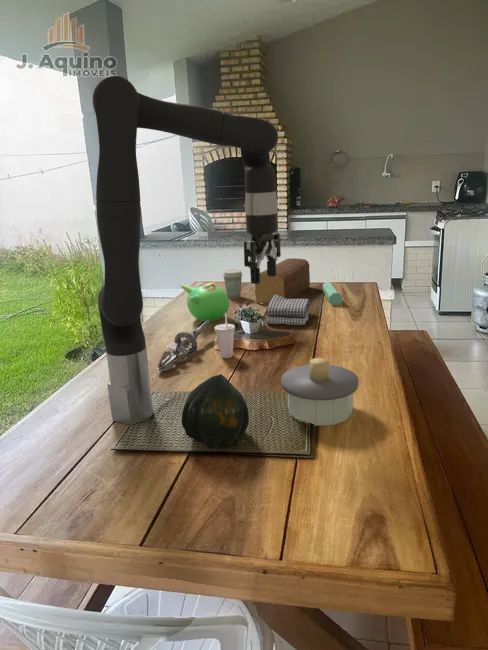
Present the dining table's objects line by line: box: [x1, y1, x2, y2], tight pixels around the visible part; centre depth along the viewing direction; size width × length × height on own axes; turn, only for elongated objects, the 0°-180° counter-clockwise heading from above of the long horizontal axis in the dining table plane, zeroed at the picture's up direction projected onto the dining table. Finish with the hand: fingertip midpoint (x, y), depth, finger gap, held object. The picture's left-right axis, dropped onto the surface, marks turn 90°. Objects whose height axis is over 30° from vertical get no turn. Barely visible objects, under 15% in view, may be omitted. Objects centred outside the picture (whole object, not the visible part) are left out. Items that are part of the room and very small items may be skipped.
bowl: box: [287, 393, 354, 427], centre depth 123 cm, size 15×15×7 cm
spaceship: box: [156, 320, 211, 373], centre depth 163 cm, size 8×35×8 cm
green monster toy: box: [180, 281, 230, 322], centre depth 197 cm, size 18×17×15 cm
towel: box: [265, 295, 311, 326], centre depth 194 cm, size 15×18×8 cm
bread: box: [254, 257, 311, 305], centre depth 228 cm, size 14×34×14 cm, turn 155°
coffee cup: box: [222, 269, 243, 300], centre depth 228 cm, size 8×9×12 cm
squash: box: [180, 373, 250, 450], centre depth 112 cm, size 14×15×15 cm
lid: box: [280, 357, 359, 400], centre depth 121 cm, size 18×18×6 cm
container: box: [322, 281, 344, 307], centre depth 221 cm, size 6×6×25 cm
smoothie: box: [214, 312, 236, 359], centre depth 159 cm, size 6×6×14 cm
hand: (264, 279), depth 125 cm, fingers open, 8 cm apart
